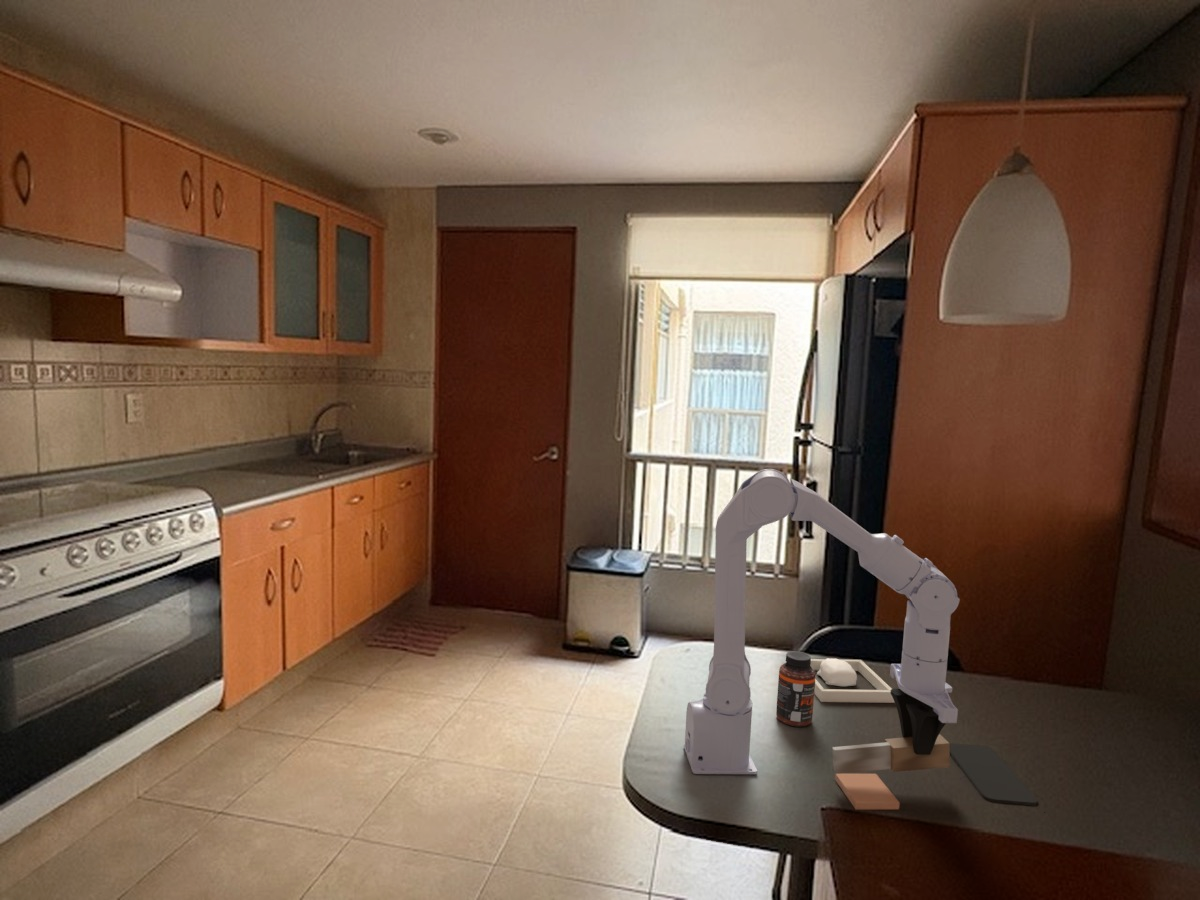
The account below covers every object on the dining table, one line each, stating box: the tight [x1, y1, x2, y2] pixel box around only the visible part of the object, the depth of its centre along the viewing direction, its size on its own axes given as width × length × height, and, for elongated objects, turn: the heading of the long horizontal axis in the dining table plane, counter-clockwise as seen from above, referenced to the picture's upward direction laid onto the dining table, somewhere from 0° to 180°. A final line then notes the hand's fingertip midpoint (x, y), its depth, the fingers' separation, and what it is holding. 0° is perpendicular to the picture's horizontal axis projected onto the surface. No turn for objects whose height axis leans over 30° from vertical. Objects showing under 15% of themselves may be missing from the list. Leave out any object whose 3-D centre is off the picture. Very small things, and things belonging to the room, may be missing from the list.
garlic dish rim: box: [810, 658, 895, 704], centre depth 132 cm, size 14×15×2 cm
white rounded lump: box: [816, 657, 858, 688], centre depth 135 cm, size 8×7×4 cm
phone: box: [949, 742, 1038, 806], centre depth 103 cm, size 7×1×15 cm
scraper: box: [831, 733, 951, 775], centre depth 98 cm, size 16×2×4 cm, turn 93°
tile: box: [834, 773, 901, 810], centre depth 97 cm, size 6×1×7 cm
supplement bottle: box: [776, 650, 816, 728], centre depth 117 cm, size 6×6×11 cm
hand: (916, 747), depth 98 cm, fingers closed on scraper, 2 cm apart
